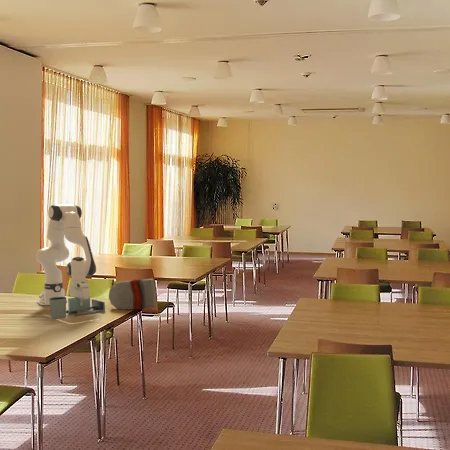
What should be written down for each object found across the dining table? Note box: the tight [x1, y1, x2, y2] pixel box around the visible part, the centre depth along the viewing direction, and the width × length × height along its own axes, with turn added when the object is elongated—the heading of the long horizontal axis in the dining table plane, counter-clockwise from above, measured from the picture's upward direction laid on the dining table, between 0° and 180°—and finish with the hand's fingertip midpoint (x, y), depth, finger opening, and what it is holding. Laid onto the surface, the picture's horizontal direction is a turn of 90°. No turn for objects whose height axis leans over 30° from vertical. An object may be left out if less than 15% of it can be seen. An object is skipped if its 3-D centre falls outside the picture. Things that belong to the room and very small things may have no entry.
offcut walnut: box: [76, 309, 95, 314], centre depth 411 cm, size 4×10×2 cm, turn 112°
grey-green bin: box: [49, 296, 67, 320], centre depth 402 cm, size 10×10×12 cm
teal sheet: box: [67, 295, 91, 312], centre depth 416 cm, size 2×14×9 cm, turn 129°
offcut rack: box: [66, 298, 106, 317], centre depth 413 cm, size 15×20×7 cm
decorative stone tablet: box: [108, 278, 157, 311], centre depth 424 cm, size 19×6×30 cm
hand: (79, 304), depth 416 cm, fingers closed on teal sheet, 2 cm apart
